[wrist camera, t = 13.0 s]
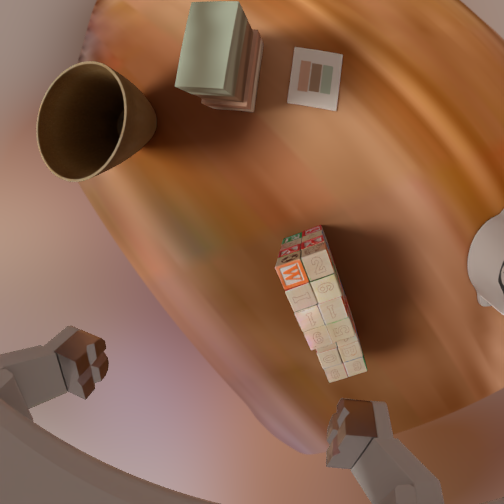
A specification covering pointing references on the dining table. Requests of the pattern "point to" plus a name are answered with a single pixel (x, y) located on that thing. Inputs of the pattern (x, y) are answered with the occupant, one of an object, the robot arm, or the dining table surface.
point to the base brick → (251, 81)
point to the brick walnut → (241, 73)
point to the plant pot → (92, 121)
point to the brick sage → (212, 48)
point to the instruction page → (315, 78)
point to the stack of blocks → (320, 303)
